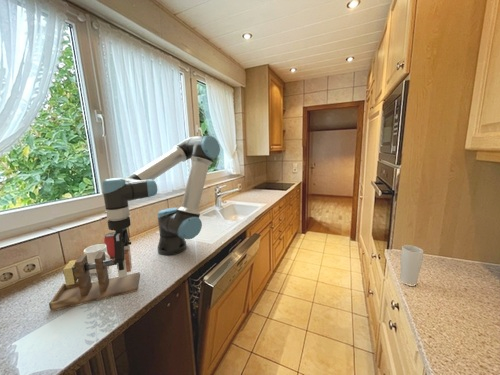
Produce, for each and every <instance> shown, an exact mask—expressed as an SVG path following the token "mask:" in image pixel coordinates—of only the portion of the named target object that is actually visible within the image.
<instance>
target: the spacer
mask: <svg viewBox="0 0 500 375" xmlns="http://www.w3.org/2000/svg"><path fill="white" fill-rule="evenodd" d="M76 260H77V259H72V260H69V261H68V263H67V264H66V265H65V266H64V267H63V268H62V273H63V272H64V274H63V276H64V280H65V281H64V282H65V283H66V286H67V285H72V284H75V283H76V281H78V278H77V273H74V268H75V262H76Z"/></svg>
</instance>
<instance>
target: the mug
mask: <svg viewBox="0 0 500 375" xmlns="http://www.w3.org/2000/svg"><path fill="white" fill-rule="evenodd" d="M103 251H105V258H106V260H111V258H110V256H109V255H108V253H107V247H106V245H105V243H99V244H93V245H89V246H88V247H86V248H84V249H83V255H85V254H86V255H87V260H88V264H89V263H95V260H94V259H95V257H96V256H97V254H98V252H103ZM109 267H110V266H107V269H108V268H109ZM89 272H90V275H92V274H95V275H96V274H97V272H96V269H92V270H89Z"/></svg>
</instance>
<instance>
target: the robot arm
mask: <svg viewBox="0 0 500 375" xmlns="http://www.w3.org/2000/svg"><path fill="white" fill-rule="evenodd" d="M172 147H173V148H172V149H171V150H170V151H168V152H166V153H164V154H163V155H161V156H160V157H157V159H155V160H153V161H151V162H149V163H148V164H146V165H145V166H144V167H142V168H140V169H138V170H137V171H135V172H133V173H131V174H130V175H128V176H123V177H115V178H113V177H112V178H106V179H104V180H102V183H101V186H102V195H103V200H104V206H105V210H104V214H106V218H107V226H108V230H110V231H114V232H115V234H114V237H113V238H114V250H115V258H114V259H115V261H114V263H117V265H116V267H117V268H116V269H117V275H118V276H117V277H119V278H120V277H125V276H127V275H128V272H127V270H126V262H125V259H124V250H127V249H130V250H131V248H130V247H131V246H130V245H132V242H131V240H130V236H129V232H128V228H129V227H131V217H130V210H129V209H130V208H129V201H135V200H140V199H146V198H152V197H155V196H156V195H157V193H158V185H157V182H156V181H155V179H157V178H158V177H159V176H162V175H164V174H165V173H166V172H168V171H169V170H170V169H173V167H175V166H177V165H178V164H180V163H183V162H186V161H189V160H190V159H191V161H192V162H191V166H190V171H189V175H188V178H187V183H186V186H185V190H184V195H183V198H182V202H181V206H179V207H168V208H164V209H161V210H159V211H158V213H157V221H158V222H157V223H158V230H159V231H158V232H159V241H158V245H157V252H158V254H159V255H163V256H171V255H176V254H179V253H181V252H184V251H185V250H186V249H187V242H186V241H187V240H193V239H194V238H195V237H197V236H198V235H199V234H200V232H201V230H202V227H203V223H202V220H201V219H200V216H201V215H200V214H201V212H200V211H199V207H200V203H201V199H202V196H203V192H204V187H205V184H206V183H205V182H206V179H207V176H208V171H209V167H210V166H211V165H212V164H213V163H214V159H217V158H218V157H219V155H220V153H221V146H220V144H219V141H218V140H217V139H216V137H214V136H212V135H201V136H200V135H199V136H190V137H188V138H186V139H183V141H180V142H179V143H177V144H175V145H174V146H172ZM130 255H131V252H130ZM131 256H132V255H131Z"/></svg>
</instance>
